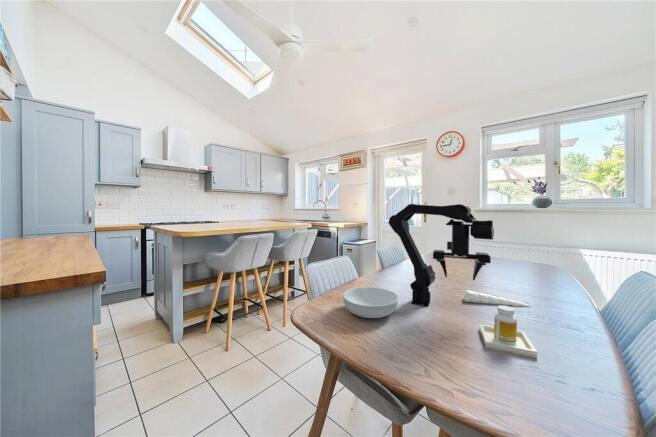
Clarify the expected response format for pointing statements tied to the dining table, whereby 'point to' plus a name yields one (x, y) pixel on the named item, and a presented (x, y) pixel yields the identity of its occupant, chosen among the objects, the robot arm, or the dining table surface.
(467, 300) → the unicorn horn
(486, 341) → the dish
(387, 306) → the serving bowl
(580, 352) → the dining table surface
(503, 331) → the supplement bottle
